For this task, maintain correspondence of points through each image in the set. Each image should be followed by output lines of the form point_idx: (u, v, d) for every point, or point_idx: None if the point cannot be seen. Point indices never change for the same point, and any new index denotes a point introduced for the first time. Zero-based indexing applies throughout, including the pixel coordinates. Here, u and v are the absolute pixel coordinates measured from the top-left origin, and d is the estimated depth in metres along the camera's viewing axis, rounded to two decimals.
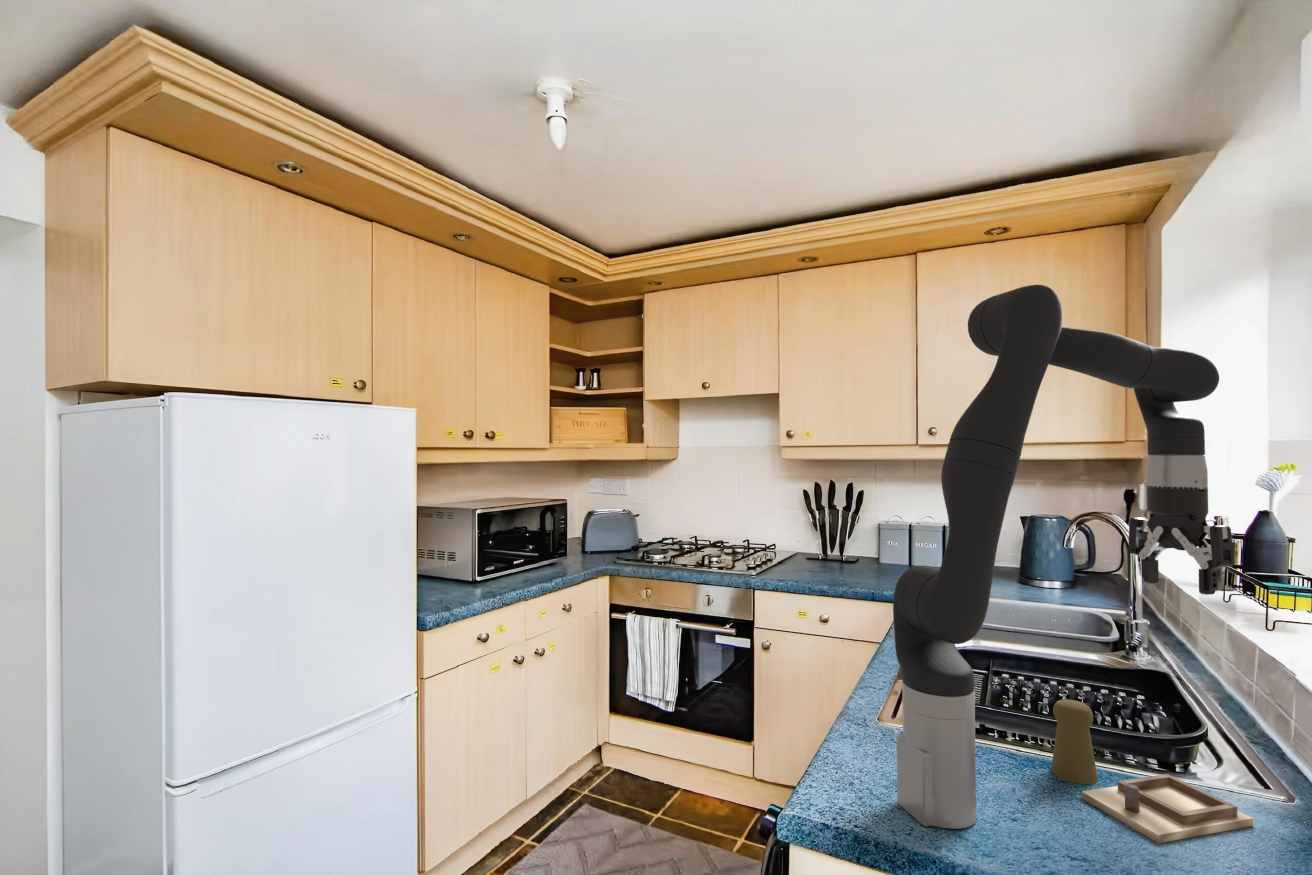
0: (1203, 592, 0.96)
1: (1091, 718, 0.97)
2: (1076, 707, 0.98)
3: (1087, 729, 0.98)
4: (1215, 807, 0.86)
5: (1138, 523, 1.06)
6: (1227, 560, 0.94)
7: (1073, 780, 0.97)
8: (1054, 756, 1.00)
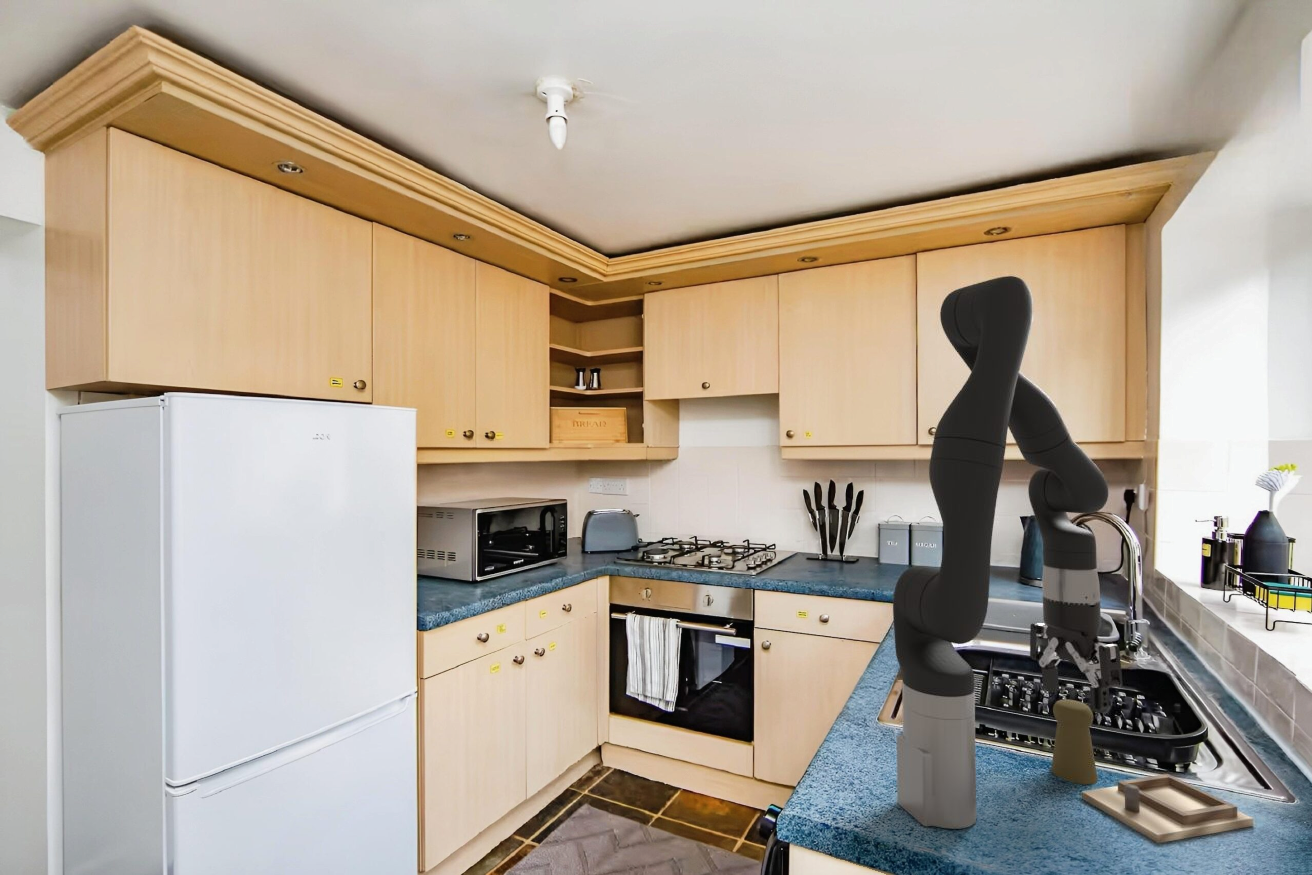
0: (1094, 710, 0.95)
1: (1091, 718, 0.97)
2: (1076, 707, 0.98)
3: (1087, 729, 0.98)
4: (1215, 807, 0.86)
5: (1038, 629, 1.05)
6: (1115, 680, 0.93)
7: (1073, 780, 0.97)
8: (1054, 756, 1.00)
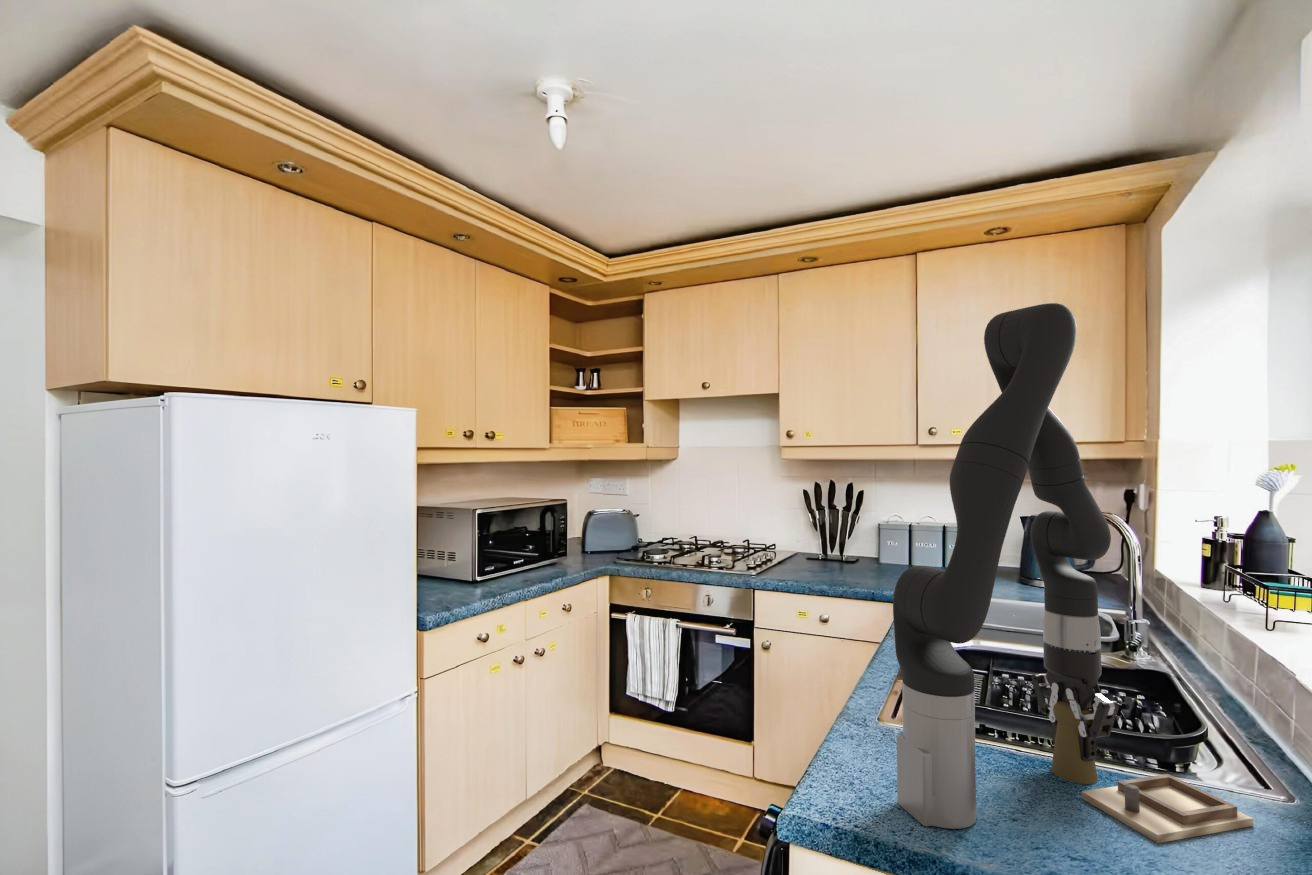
0: (1082, 759, 0.97)
1: None
2: None
3: None
4: (1215, 807, 0.86)
5: (1039, 679, 1.05)
6: (1103, 730, 0.95)
7: (1073, 780, 0.97)
8: (1054, 756, 1.00)
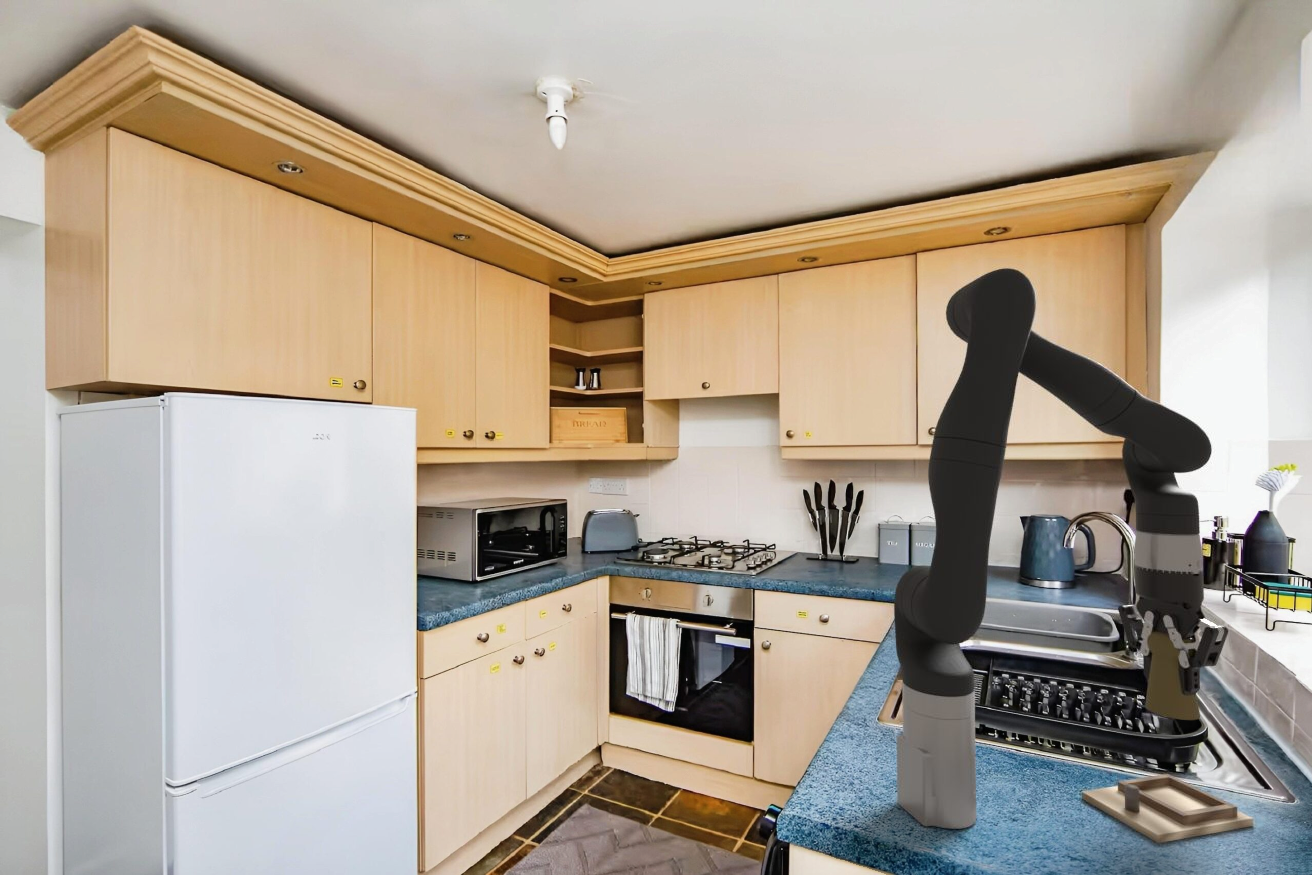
0: (1184, 693, 0.87)
1: None
2: None
3: None
4: (1215, 807, 0.86)
5: (1128, 610, 0.95)
6: (1209, 659, 0.85)
7: (1174, 716, 0.87)
8: (1149, 692, 0.91)
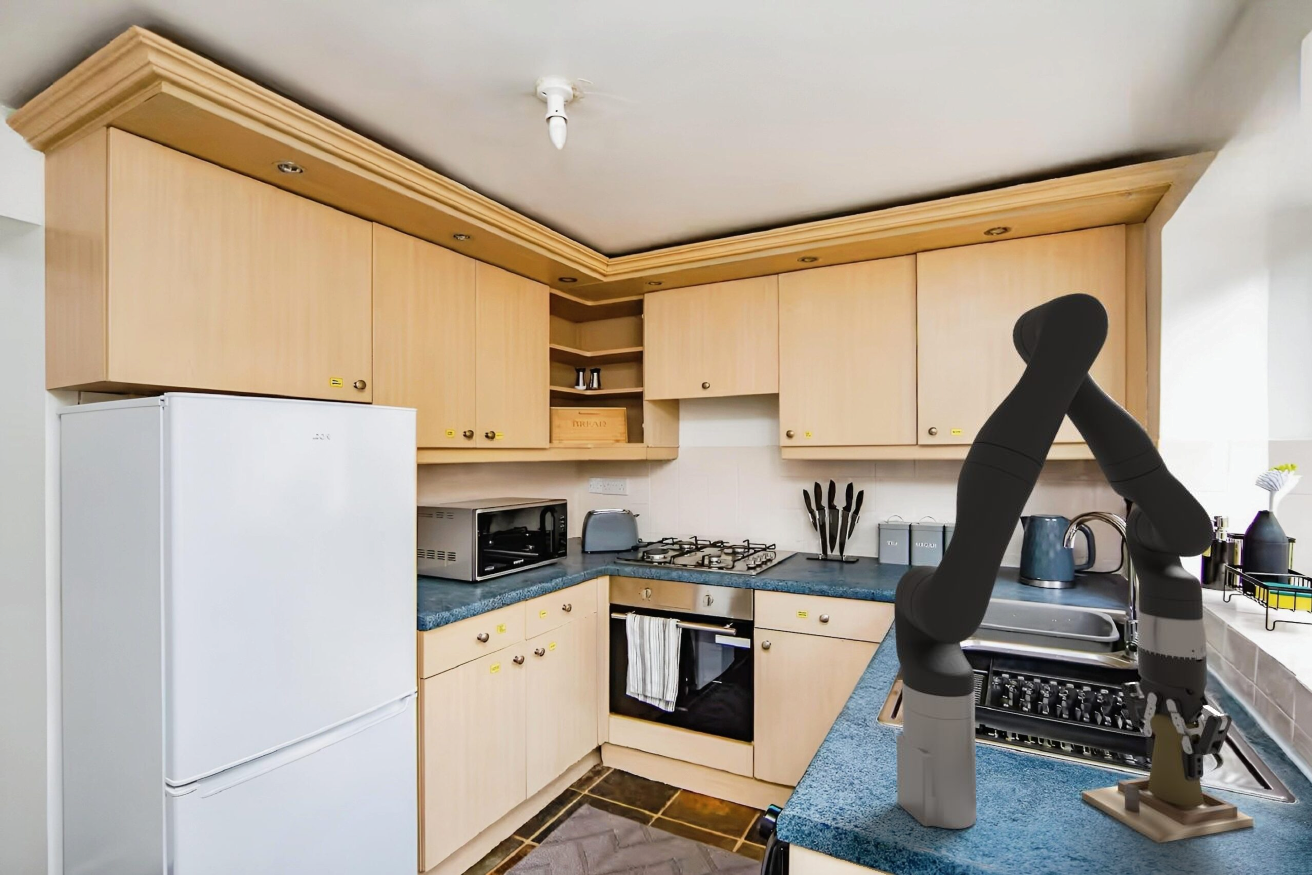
0: (1187, 778, 0.87)
1: None
2: None
3: None
4: (1215, 807, 0.86)
5: (1131, 688, 0.95)
6: (1212, 746, 0.85)
7: (1177, 802, 0.87)
8: (1152, 774, 0.90)
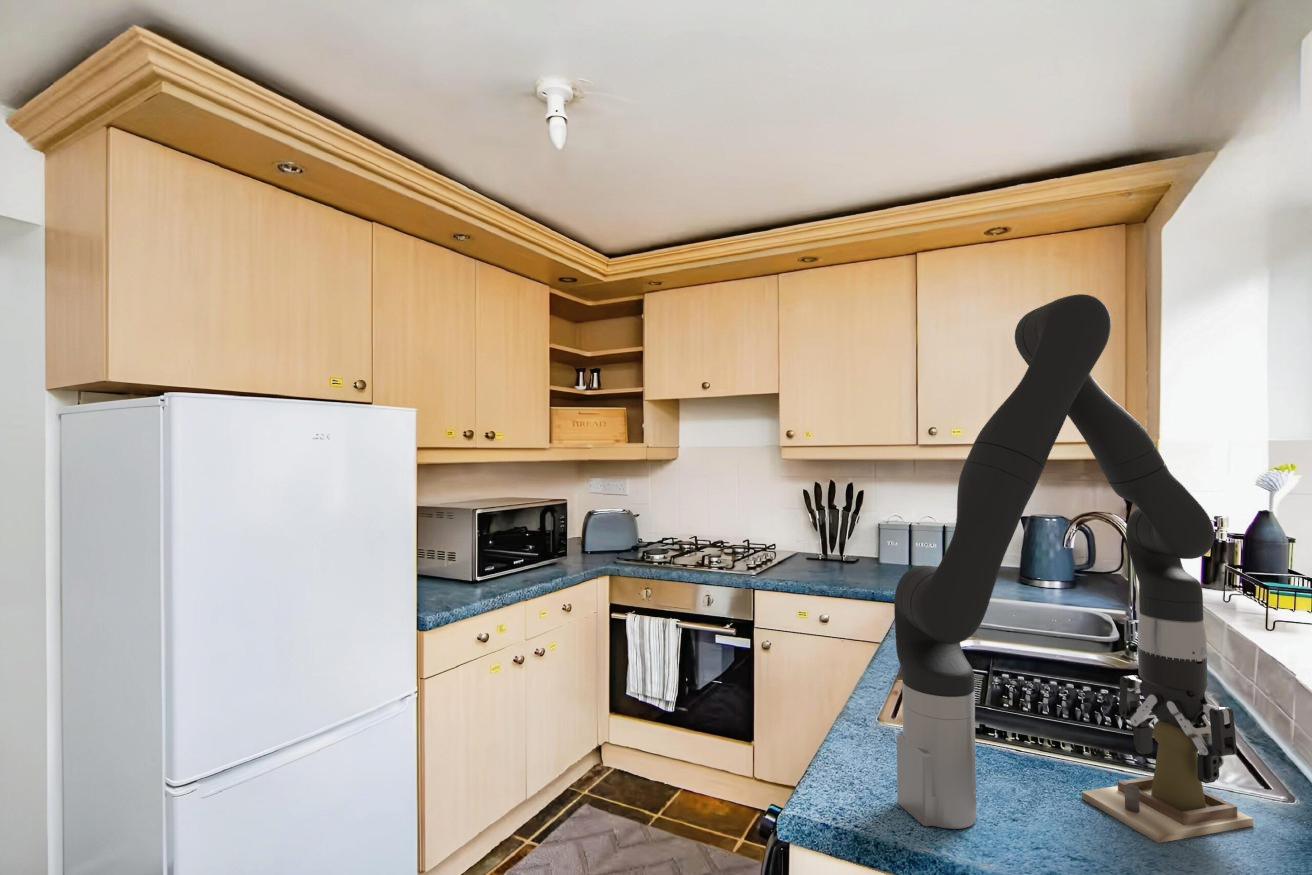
0: (1202, 780, 0.85)
1: None
2: None
3: (1195, 754, 0.87)
4: (1215, 807, 0.86)
5: (1129, 683, 0.95)
6: (1229, 748, 0.83)
7: None
8: (1155, 783, 0.90)
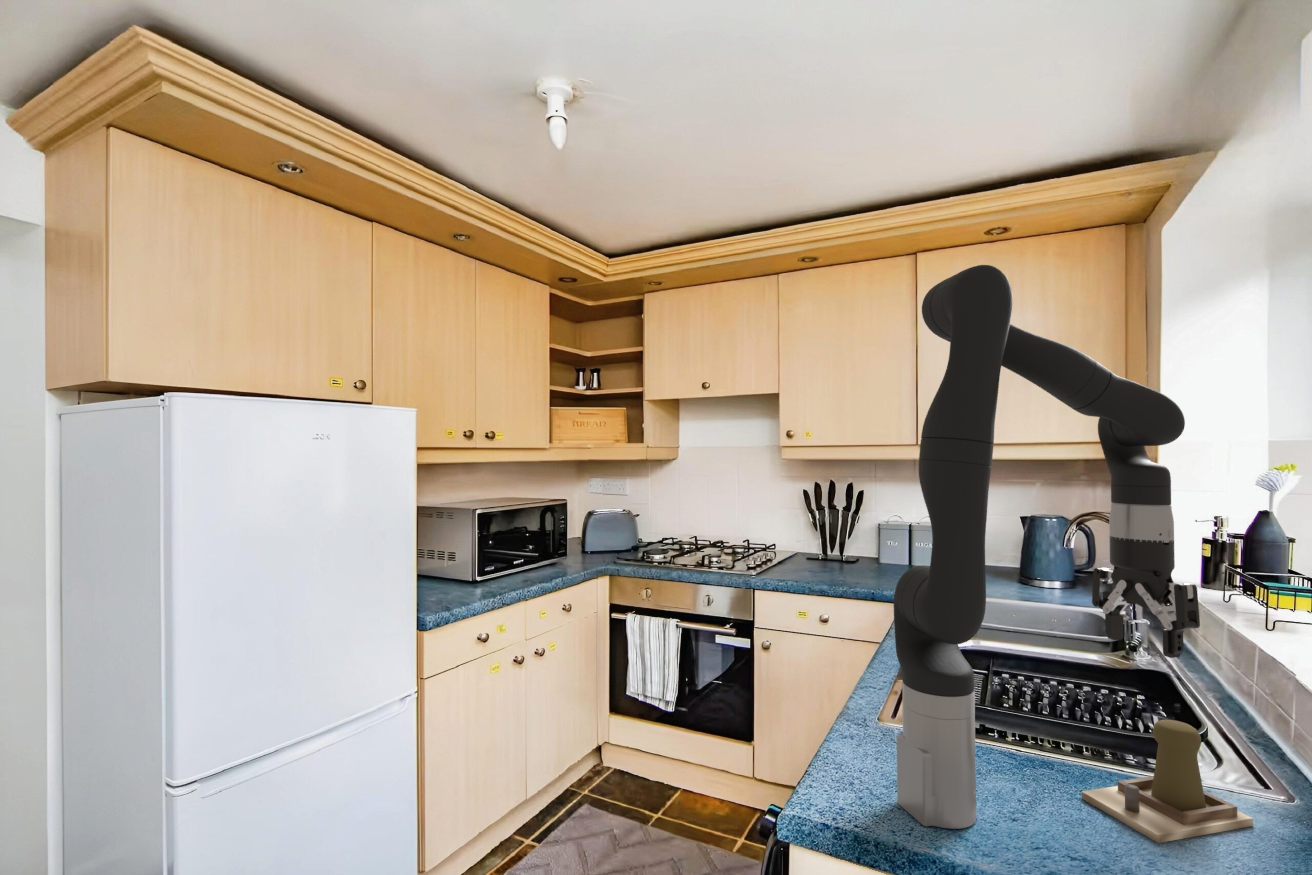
0: (1167, 655, 0.89)
1: (1199, 741, 0.87)
2: (1183, 729, 0.88)
3: (1195, 754, 0.87)
4: (1215, 807, 0.86)
5: (1102, 574, 0.99)
6: (1192, 621, 0.87)
7: None
8: (1155, 783, 0.90)
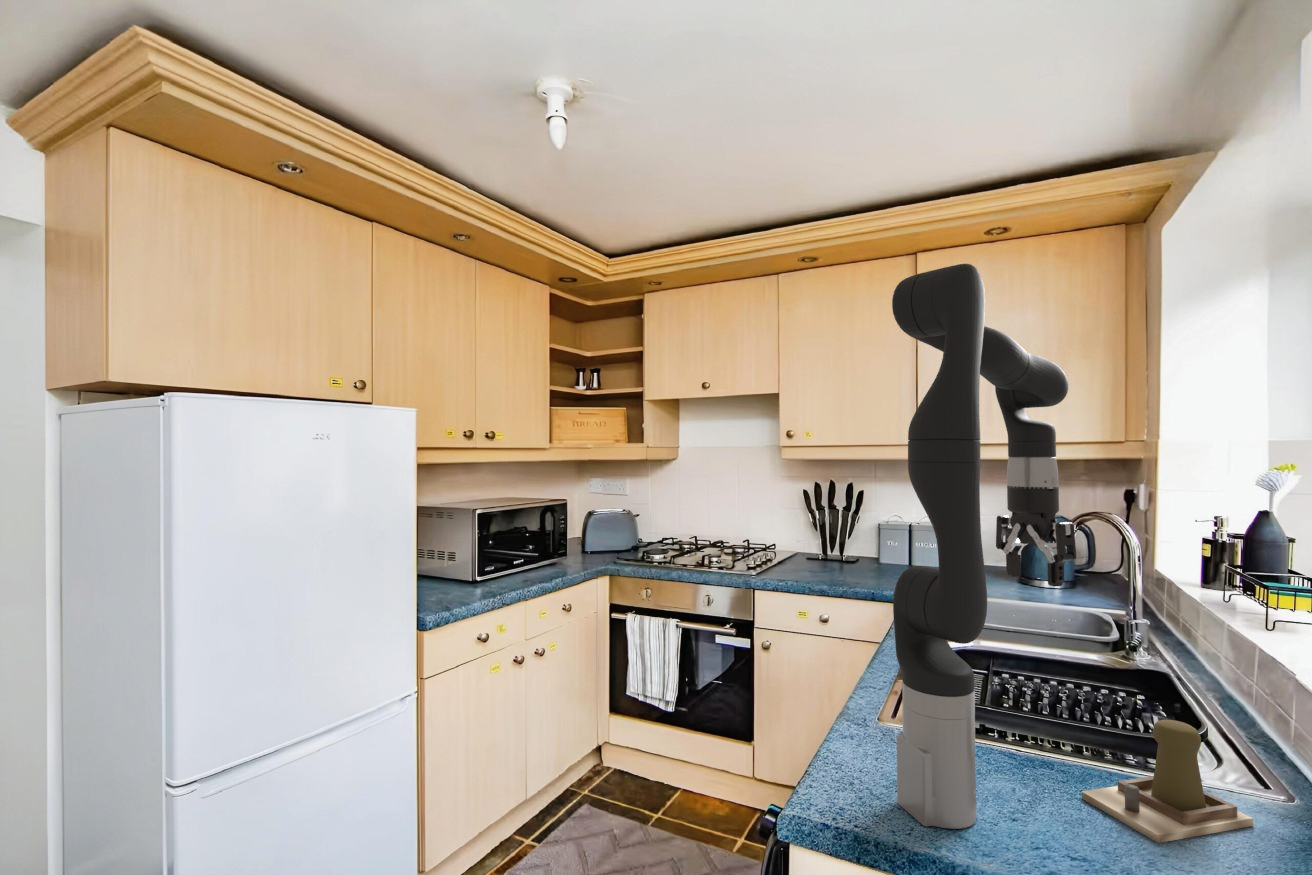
0: (1051, 584, 1.04)
1: (1199, 741, 0.87)
2: (1183, 729, 0.88)
3: (1195, 754, 0.87)
4: (1215, 807, 0.86)
5: (1003, 520, 1.14)
6: (1069, 554, 1.02)
7: None
8: (1155, 783, 0.90)
